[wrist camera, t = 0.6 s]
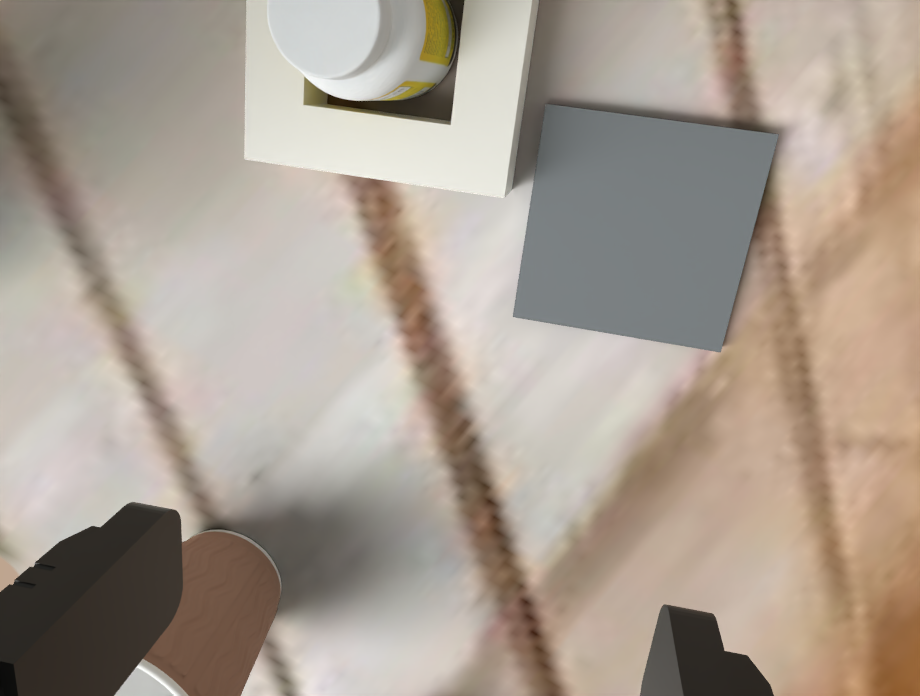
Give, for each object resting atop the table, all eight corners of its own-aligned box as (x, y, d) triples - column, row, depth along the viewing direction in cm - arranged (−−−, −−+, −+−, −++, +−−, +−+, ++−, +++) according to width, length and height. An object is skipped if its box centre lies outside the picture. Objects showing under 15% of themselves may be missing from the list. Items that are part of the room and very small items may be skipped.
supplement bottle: (391, -58, 31) (307, -122, 22) (484, 28, 32) (439, 1, 23) (321, 45, 33) (217, 25, 24) (409, 125, 34) (339, 136, 25)
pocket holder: (272, 154, 35) (244, 159, 32) (279, -129, 31) (248, -151, 28) (511, 189, 34) (504, 198, 31) (554, -103, 30) (549, -123, 27)
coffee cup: (123, 548, 45) (-30, 694, 34) (235, 475, 42) (105, 612, 31) (226, 664, 47) (112, 840, 36) (341, 604, 44) (254, 777, 33)
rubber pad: (513, 313, 36) (512, 316, 35) (546, 103, 32) (545, 103, 32) (718, 348, 34) (720, 352, 34) (775, 133, 31) (778, 134, 30)
